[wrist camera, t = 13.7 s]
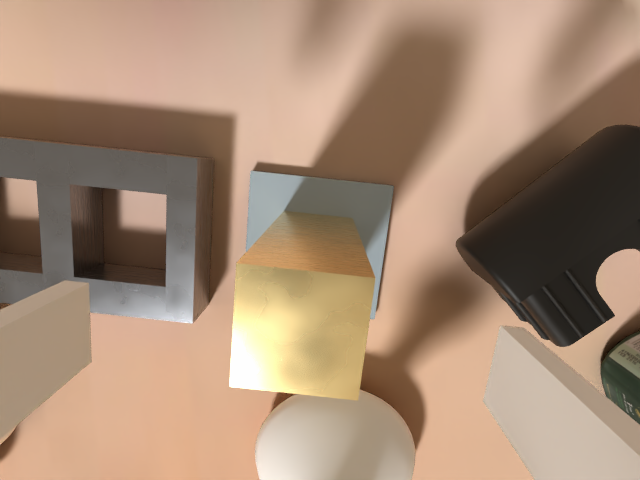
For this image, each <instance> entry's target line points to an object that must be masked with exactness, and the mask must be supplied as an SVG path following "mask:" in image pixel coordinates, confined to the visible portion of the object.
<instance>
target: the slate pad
mask: <svg viewBox="0 0 640 480" xmlns="http://www.w3.org/2000/svg"><path fill="white" fill-rule="evenodd" d="M393 190H394V186H393V185H384V184H374V183H365V182H355V181H346V180H336V179H327V178H318V177H308V176H299V175H289V174H280V173H270V172H261V171H251V174H250V190H249V207H248V223H247V240H246V252H247V251H248V250H249V249H250V247H251V246H252V245H253V244H254V243H255V242H256V241H257V240H258V239H259V238H260V236H261V235H262V234H263V233H264V232H265V231H266V230H267V229H268V228H269V227H270V226H271V224H272V223H273V222H274V221H275V220H276V219H277V218H278V217H279V216H280V215H281V213H282V212H283V211H292V212H301V213H311V214H320V215H329V216H339V217H348V218H353V220H354V223H355V226H356V228H357V231H358V233H359V236H360V239H361V241H362V244H363V246H364V249H365V252H366V254H367V257H368V259H369V262H370V265H371V267H372V270H373V272H374V275H375V278H376V279H375V286H374V293H373V300H372V307H371V314H370V319H375V312H376V306H377V299H378V292H379V285H380V278H381V271H382V265H383V258H384V251H385V244H386V237H387V231H388V224H389V217H390V210H391V203H392V197H393Z"/></svg>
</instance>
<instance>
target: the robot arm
mask: <svg viewBox="0 0 640 480" xmlns="http://www.w3.org/2000/svg"><path fill="white" fill-rule="evenodd" d="M90 362H92V357H91V328H90V299H89V283H85V282H75V281H66V280H65V281H62V282H60V283H58V284H56V285H54V286H51V287H49V288H47V289H45V290H43V291H40V292H38V293H36V294H34V295H31V296H29V297H27V298H25V299H23V300H20V301H18V302H16V303H14V304H12V305H9V306H7V307H5V308H3V309H1V310H0V439H1V438H2V437H3V436H5V435H6V434H7V433H8V432H9V431H10V430H12V429H13V428H14V427H15V426H16V425H18V424H19V423H20V422H21V421H22V420H23V419H25V418H26V417H27V416H28V415H29V414H30V413H32V412H33V411H34V410H35V409H36V408H37V407H39V406H40V405H41V404H42V403H43V402H45V401H46V400H47V399H48V398H49V397H50V396H52V395H53V394H54V393H55V392H56V391H57V390H59V389H60V388H61V387H62V386H63V385H64V384H66V383H67V382H68V381H69V380H70V379H72V378H73V377H74V376H75V375H76V374H77V373H79V372H80V371H81V370H82V369H83V368H84V367H86V366H87V365H88V364H89V363H90ZM483 402H484V404H485V405H486V407H487V408H488V410H489V411H490V413H491V414H492V416H493V417H494V419H495V420H496V422H497V423H498V425H499V426H500V428H501V429H502V431H503V432H504V434H505V436H506V437H507V439H508V440H509V442H510V443H511V445H512V446H513V448H514V449H515V451H516V452H517V454H518V455H519V457H520V458H521V460H522V461H523V463H524V465H525V466H526V468H527V469H528V471H529V472H530V474H531V475H532V477H533V478H534V480H640V425H639V424H638V423H637V422H636V421H635V420H633V419H632V418H631V417H630V416H629V415H627V414H626V413H625V412H624V411H623V410H621V409H620V408H619V407H618V406H617V405H615V404H614V403H613V402H612V401H611V400H610V399H608V398H607V397H606V396H605V395H604V394H602V393H601V392H600V391H599V390H598V389H596V388H595V387H594V386H593V385H592V384H590V383H589V382H588V381H587V380H586V379H584V378H583V377H582V376H581V375H580V374H578V373H577V372H576V371H575V370H574V369H573V368H571V367H570V366H569V365H568V364H567V363H565V362H564V361H563V360H562V359H561V358H559V357H558V356H557V355H556V354H555V353H553V352H552V351H551V350H550V349H549V348H547V347H546V346H545V345H544V344H543V343H542V342H540V341H539V340H538V339H537V338H536V337H534V336H533V335H532V334H531V333H530V332H528V331H527V330H526V329H525V328H520V327H511V326H501V325H500V329H499V333H498V338H497V342H496V346H495V351H494V355H493V360H492V364H491V369H490V373H489V377H488V382H487V386H486V391H485V395H484V400H483Z"/></svg>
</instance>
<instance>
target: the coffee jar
mask: <svg viewBox="0 0 640 480" xmlns="http://www.w3.org/2000/svg"><path fill="white" fill-rule="evenodd" d="M601 379H602V384H603V388H604V391H605V394H606V397H607V398H608V399H610V400H611V401H612V402H613V403H614V404H615V405H617V406H618V407H619V408H620V409H621V410H623V411H624V412H625V413H626V414H627V415H629V416H630V417H631V418H632V419H633V420H635V421H636V422H637V423H638V424H639V425H640V331H638V332H636V333H634V334H632V335H630V336H628V337H626V338H625V339H623V340H622V341H621V342H620V343H618V344H617V345H616V346H615V347H614V348H612V349H611V350H610V352H609V353H608V354H607V355H606V357H605V359H604V360H603V362H602V364H601Z"/></svg>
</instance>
